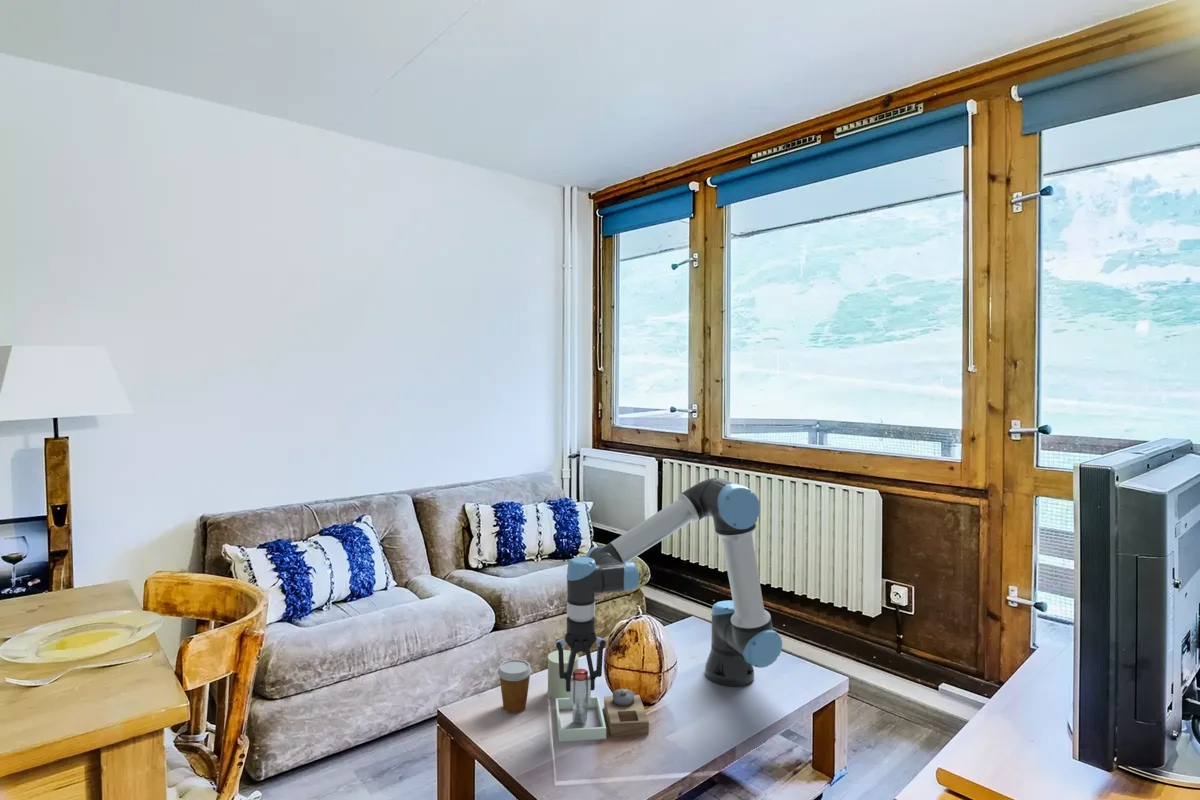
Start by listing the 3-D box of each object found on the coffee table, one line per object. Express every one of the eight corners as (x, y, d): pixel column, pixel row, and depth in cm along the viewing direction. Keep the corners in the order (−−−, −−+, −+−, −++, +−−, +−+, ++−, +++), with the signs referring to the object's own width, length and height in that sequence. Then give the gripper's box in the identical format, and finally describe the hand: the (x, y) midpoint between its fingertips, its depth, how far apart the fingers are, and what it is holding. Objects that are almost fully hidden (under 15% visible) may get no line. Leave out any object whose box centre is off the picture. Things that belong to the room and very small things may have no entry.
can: (574, 704, 185) (574, 663, 184) (543, 700, 187) (543, 660, 186) (581, 688, 194) (582, 649, 193) (552, 685, 196) (552, 646, 195)
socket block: (648, 736, 169) (649, 710, 169) (610, 738, 168) (611, 712, 167) (639, 708, 183) (639, 684, 183) (604, 710, 182) (604, 686, 181)
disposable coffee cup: (529, 716, 178) (530, 674, 177) (495, 716, 178) (495, 674, 177) (533, 699, 187) (533, 658, 187) (500, 698, 187) (500, 658, 187)
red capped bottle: (586, 714, 176) (587, 668, 175) (588, 722, 172) (588, 675, 171) (571, 715, 176) (572, 668, 175) (573, 723, 172) (573, 675, 171)
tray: (555, 710, 181) (555, 698, 181) (598, 708, 183) (598, 696, 182) (558, 744, 165) (558, 730, 165) (606, 741, 167) (606, 728, 166)
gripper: (610, 610, 177) (609, 693, 178) (548, 612, 175) (547, 696, 176) (614, 620, 170) (613, 707, 171) (549, 623, 168) (549, 711, 169)
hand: (580, 701), depth 174 cm, fingers closed on red capped bottle, 4 cm apart
